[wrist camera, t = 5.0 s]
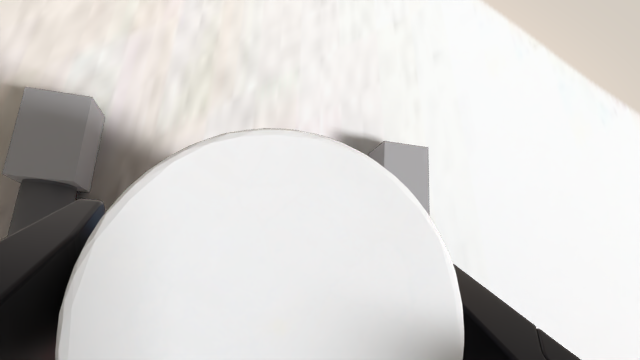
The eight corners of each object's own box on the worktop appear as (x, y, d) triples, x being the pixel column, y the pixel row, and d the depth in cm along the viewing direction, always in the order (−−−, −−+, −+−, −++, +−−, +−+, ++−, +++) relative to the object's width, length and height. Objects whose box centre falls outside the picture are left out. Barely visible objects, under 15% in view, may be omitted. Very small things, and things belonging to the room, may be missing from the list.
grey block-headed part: (16, 548, 12) (-17, 595, 10) (-65, 557, 11) (-114, 608, 9) (105, 116, 15) (92, 96, 13) (46, 108, 15) (25, 86, 13)
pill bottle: (125, 236, 14) (-112, 129, 4) (281, 190, 16) (414, 33, 6) (171, 404, 13) (32, 875, 3) (329, 333, 15) (590, 461, 5)
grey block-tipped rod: (410, 507, 15) (435, 538, 13) (360, 512, 14) (380, 544, 13) (408, 159, 18) (428, 147, 17) (368, 153, 18) (384, 141, 16)
